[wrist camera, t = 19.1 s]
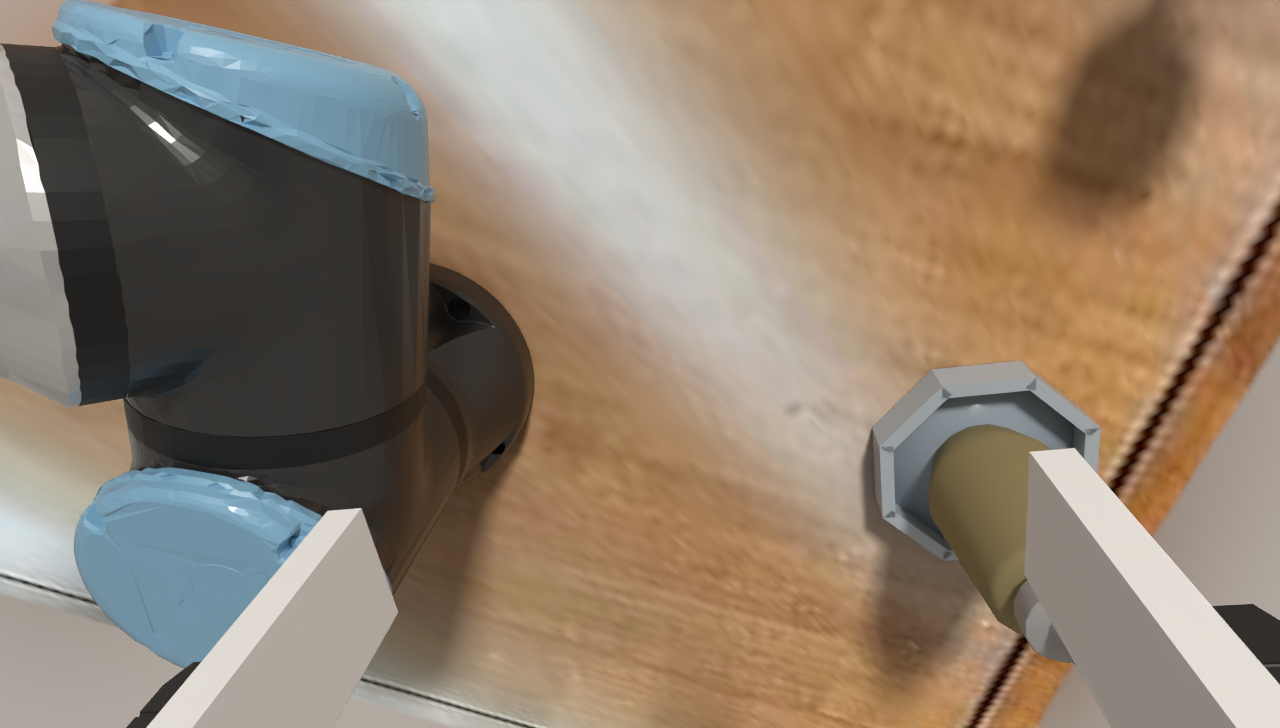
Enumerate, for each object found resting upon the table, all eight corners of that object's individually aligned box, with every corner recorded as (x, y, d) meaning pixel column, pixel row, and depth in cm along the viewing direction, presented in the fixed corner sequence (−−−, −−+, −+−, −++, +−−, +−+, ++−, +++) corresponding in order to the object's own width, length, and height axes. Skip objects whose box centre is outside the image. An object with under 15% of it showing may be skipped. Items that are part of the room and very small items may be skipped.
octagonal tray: (877, 541, 52) (884, 564, 49) (869, 375, 47) (877, 392, 45) (1073, 528, 50) (1090, 551, 48) (1085, 353, 45) (1105, 370, 43)
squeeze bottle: (1060, 495, 48) (1238, 735, 31) (932, 531, 50) (1037, 774, 33) (1031, 388, 45) (1209, 589, 29) (897, 430, 47) (992, 640, 31)
